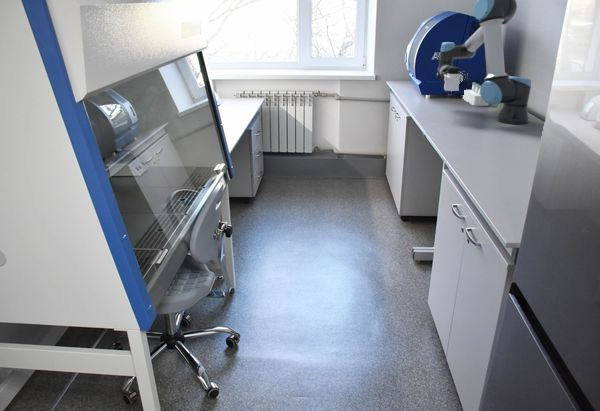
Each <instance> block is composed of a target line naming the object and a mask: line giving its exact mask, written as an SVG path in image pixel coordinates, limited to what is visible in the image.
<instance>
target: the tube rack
mask: <svg viewBox="0 0 600 411" xmlns="http://www.w3.org/2000/svg"><path fill="white" fill-rule="evenodd" d="M481 87H482V85H480V84H479V83H476V82H472V87H471V89H466V90H464V95H462V100H463V99H464V100H463V101H465V102H467V103H468V102H469V103H468V104H470V105H472V106H473V105H474V107H483V106H484V107H487V106H489V105H490V104H488V103H486V102H485V101H484V100H483V99H482V97H481V94H480V88H481Z"/></svg>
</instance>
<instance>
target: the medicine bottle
mask: <svg viewBox="0 0 600 411" xmlns="http://www.w3.org/2000/svg"><path fill="white" fill-rule="evenodd" d="M460 69H461V68H460V67H458V66H452V67H449V68H448V71H447V75H446V76H447V81H444V85H443V90H444V91H445V92H452V91H459V84H460V77H459V76H458V75H459V72H460Z"/></svg>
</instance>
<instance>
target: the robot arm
mask: <svg viewBox="0 0 600 411" xmlns="http://www.w3.org/2000/svg"><path fill="white" fill-rule="evenodd" d="M517 3H518V2H517V1H516V0H476V2H474V6H473V17H474V18H475V19H476V20H478V21H479V26H480V27H478V29H477V30H475V32H474V33H473V34H471V36H470V37H468V38H467V40H465V42H464V43H463V44H458V45H456V43H455V42H453V41H452V42H450V41H445V42H442V43H441V46H440V52H439V53H440V54H439V55H440V56H439V57H440V58H439V63H438V67H437V72H436V78H437V79H438V80H440V81H444V82H445V81H447V76H446V75H447V71H448V68H449V67H453V65H454V64H453V62H454V60H460V59H462V60H463V59H465V60H466V59H472V58H474V56H476V54H477V49H479V48H480V47H481V46H482V45H483V44H484V52H485V53H484V54H485V66H486V76H485V77H484V79H483V81H484V82H483V83H482V84H481V86H482V87H481V88H480V94H481V97H482V99H483V100H484V101H485V102H486V103H488V104H489V105H498V104H499V103H504V105H503V108H502V109H501V111H500V112H499V113H498V115H497V121H499V122H501V123H505V124H511V125H524V124H528V123H529V119H530V118H529V113H528V103H529V97H530V92H531V88H532V80H531V79H530V78H528V77H521V76H512V75H509V74H508V73H507V72H505V71H506V70H505V67H506V66H505V55H504V43H503V42H504V41H503V32H502V27H503V25H506V24H508V22H510V21H511V20H512V19H513V17H514V16H515V15H516V12H517V8H518V5H517ZM459 72H460V73H459V75H458V76H459V77H460V81H461V82H462V81H463V79H464V80H465V79H466V74H463V73H462V72H463V71H459Z"/></svg>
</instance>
